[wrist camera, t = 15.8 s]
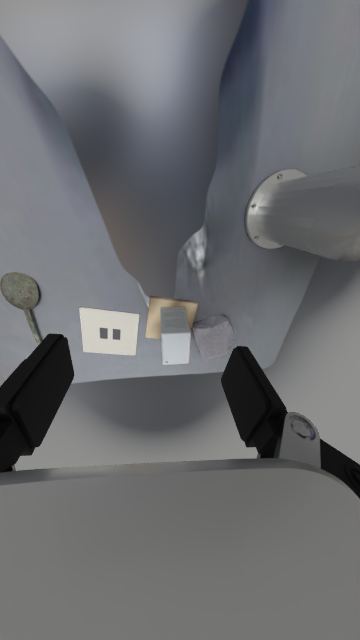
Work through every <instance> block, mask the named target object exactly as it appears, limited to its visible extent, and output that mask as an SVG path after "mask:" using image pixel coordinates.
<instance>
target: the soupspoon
mask: <svg viewBox="0 0 360 640" xmlns="http://www.w3.org/2000/svg"><path fill="white" fill-rule="evenodd" d="M0 286H1V291H2V294H3V296H4V297H5V298H6V300H7V301H8V302H9V303H11V304H12V305H14V306H15V307H17V308H20V309H23V310H24V312H25V315H26V318H27V320H28V323H29V325H30V328H31V330H32V332H33V334H34V336H35V339H36V341H37V343H38V345H39V344H40V343H41V341H40V338H39V336H38V333H37V331H36V329H35V326H34V323H33V320H32V317H31V313H30V310H31V309H32V308H34V307H35V306H36V304H37V302H38V298H39V293H38V288H37V284H36V282H35V281H34V280H33V278H32V277H30V276H28V275H25V274H22V273H16V272H13V273H8V274H6V275H4V276H3V277H2V279H1V284H0Z"/></svg>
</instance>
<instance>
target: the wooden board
mask: <svg viewBox="0 0 360 640" xmlns="http://www.w3.org/2000/svg"><path fill="white" fill-rule="evenodd" d="M161 307H184V309H185V312H186V316H187V320H188V323H189V327H190V330H191V328H192V325H193V321H194V318H195V314H196V310H197V307H198V302H193V301H186V300H178V299H170V298H163V297H156V296H150V303H149V311H148V319H147V327H146V335H145V338H157V339H161V312H160V308H161Z"/></svg>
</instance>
